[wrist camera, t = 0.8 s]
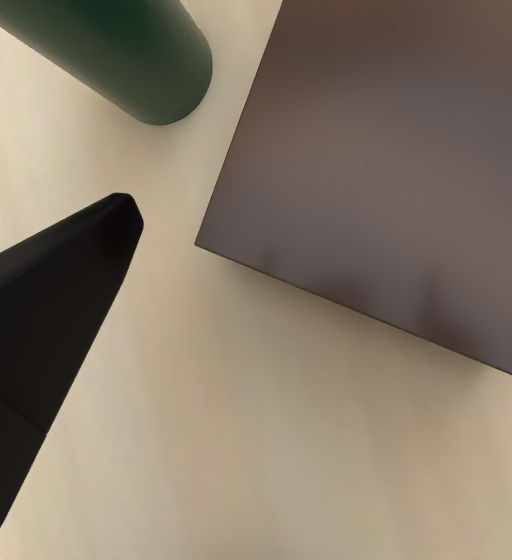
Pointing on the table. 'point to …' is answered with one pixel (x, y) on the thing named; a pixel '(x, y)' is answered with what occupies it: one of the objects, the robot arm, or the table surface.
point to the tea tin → (120, 50)
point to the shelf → (381, 166)
